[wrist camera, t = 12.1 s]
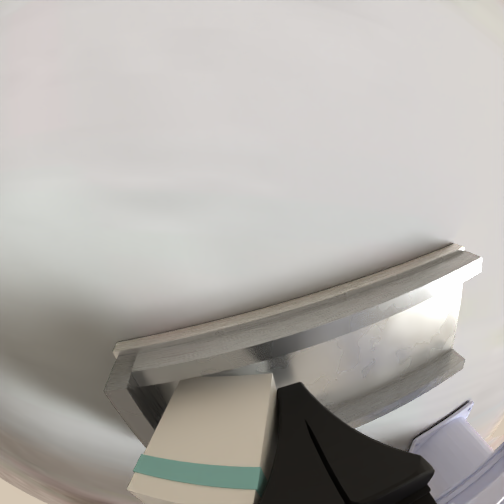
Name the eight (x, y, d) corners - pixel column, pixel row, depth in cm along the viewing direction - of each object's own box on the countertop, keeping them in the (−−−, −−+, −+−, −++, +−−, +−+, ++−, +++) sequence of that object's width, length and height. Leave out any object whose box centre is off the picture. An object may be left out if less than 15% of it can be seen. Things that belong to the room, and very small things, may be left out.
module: (289, 434, 12) (279, 540, 6) (211, 435, 12) (181, 529, 7) (273, 372, 10) (252, 512, 5) (179, 376, 11) (124, 488, 6)
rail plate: (443, 354, 15) (471, 378, 12) (179, 445, 13) (179, 487, 10) (454, 243, 13) (496, 259, 10) (116, 342, 11) (96, 387, 8)
